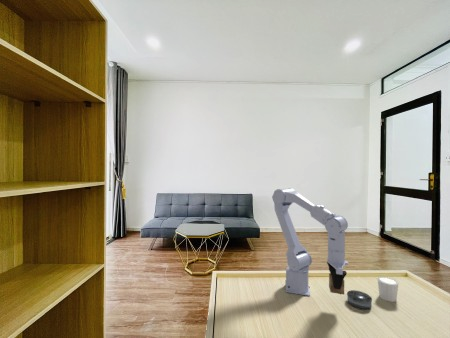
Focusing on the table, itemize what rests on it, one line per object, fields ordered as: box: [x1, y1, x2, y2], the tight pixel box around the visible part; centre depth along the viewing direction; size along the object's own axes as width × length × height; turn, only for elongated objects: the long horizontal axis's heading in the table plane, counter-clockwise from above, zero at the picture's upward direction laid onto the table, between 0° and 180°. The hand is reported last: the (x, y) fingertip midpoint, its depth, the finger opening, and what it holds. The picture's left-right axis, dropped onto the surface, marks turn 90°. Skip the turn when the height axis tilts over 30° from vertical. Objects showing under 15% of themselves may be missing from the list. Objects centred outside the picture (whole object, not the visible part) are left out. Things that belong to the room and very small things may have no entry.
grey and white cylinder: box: [377, 276, 399, 303], centre depth 91 cm, size 7×7×7 cm
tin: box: [346, 289, 373, 311], centre depth 87 cm, size 8×8×3 cm
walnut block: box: [328, 272, 345, 295], centre depth 84 cm, size 4×4×5 cm
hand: (336, 285), depth 84 cm, fingers closed on walnut block, 4 cm apart
